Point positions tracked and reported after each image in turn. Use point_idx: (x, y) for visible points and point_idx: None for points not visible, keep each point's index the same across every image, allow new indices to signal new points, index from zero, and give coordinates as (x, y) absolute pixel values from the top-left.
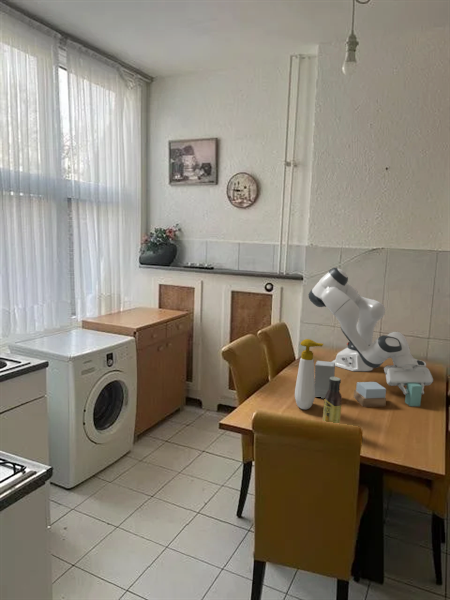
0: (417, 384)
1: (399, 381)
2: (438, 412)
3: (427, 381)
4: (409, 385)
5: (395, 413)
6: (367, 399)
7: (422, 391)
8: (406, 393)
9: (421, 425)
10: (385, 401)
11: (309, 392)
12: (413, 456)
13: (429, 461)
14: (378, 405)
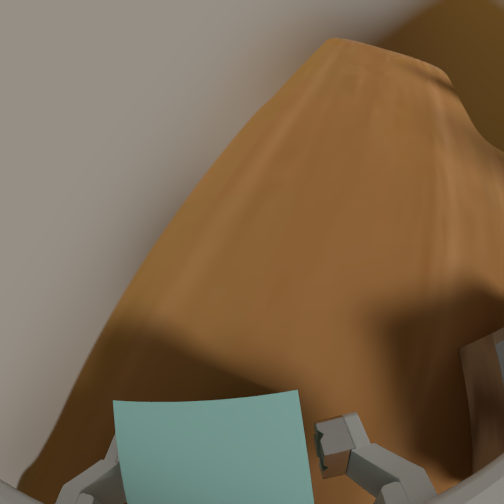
0: (154, 483)
1: (472, 487)
2: (132, 296)
3: (5, 488)
4: (308, 474)
5: (416, 247)
6: None
7: None
8: (340, 415)
9: (313, 141)
10: (479, 339)
11: None
12: (367, 55)
13: (340, 46)
14: (491, 333)
